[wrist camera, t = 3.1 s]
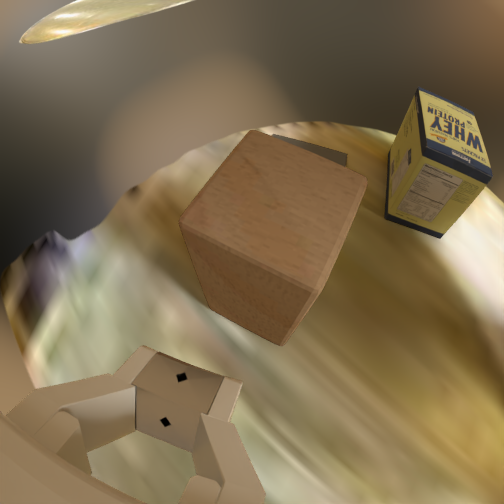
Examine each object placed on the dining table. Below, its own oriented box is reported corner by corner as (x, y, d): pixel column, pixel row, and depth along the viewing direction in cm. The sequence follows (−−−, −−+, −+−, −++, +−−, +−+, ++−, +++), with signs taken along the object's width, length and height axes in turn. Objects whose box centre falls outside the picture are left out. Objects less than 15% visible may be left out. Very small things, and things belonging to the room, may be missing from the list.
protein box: (436, 171, 50) (473, 110, 36) (440, 240, 43) (495, 178, 29) (386, 152, 51) (416, 84, 38) (383, 220, 44) (427, 147, 31)
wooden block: (282, 348, 36) (321, 294, 18) (208, 308, 38) (174, 220, 20) (318, 277, 40) (371, 176, 22) (248, 243, 41) (250, 125, 23)
